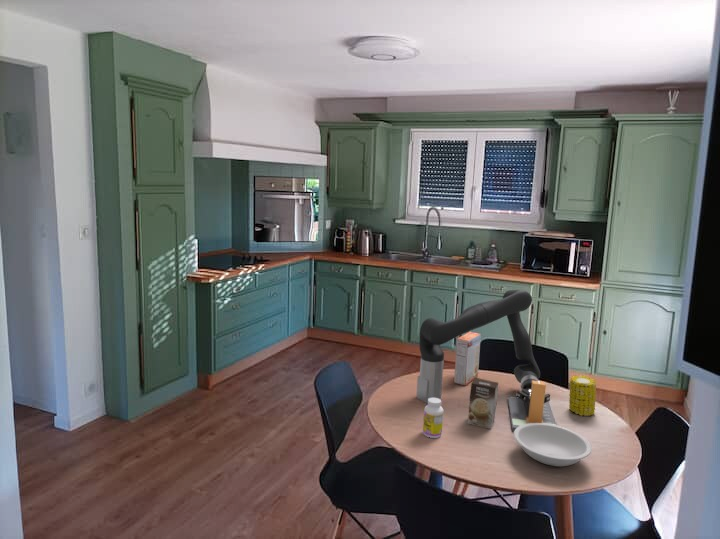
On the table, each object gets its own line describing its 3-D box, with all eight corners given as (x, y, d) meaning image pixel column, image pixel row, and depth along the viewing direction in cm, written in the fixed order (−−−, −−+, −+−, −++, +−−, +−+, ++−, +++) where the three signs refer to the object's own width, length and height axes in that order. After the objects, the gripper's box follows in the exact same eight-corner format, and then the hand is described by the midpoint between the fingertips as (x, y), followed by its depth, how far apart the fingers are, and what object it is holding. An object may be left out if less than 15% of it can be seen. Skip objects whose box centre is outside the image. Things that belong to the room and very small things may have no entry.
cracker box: (466, 374, 243) (469, 330, 239) (478, 377, 239) (481, 333, 235) (452, 382, 231) (456, 337, 228) (465, 386, 228) (469, 340, 224)
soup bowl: (512, 470, 162) (514, 451, 161) (511, 435, 185) (513, 418, 184) (595, 485, 156) (597, 465, 155) (583, 447, 179) (585, 429, 178)
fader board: (558, 437, 185) (560, 428, 184) (512, 431, 188) (513, 422, 188) (548, 405, 212) (549, 396, 211) (507, 400, 215) (508, 392, 215)
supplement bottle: (419, 431, 185) (421, 397, 183) (435, 428, 188) (438, 395, 186) (428, 440, 179) (430, 405, 177) (445, 437, 182) (447, 402, 179)
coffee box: (466, 423, 193) (470, 382, 190) (470, 416, 198) (474, 377, 196) (491, 429, 189) (495, 387, 186) (495, 422, 195) (498, 381, 192)
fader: (543, 427, 188) (547, 385, 185) (527, 425, 189) (531, 383, 186) (541, 421, 192) (546, 380, 190) (526, 419, 193) (530, 379, 191)
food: (598, 418, 205) (577, 422, 202) (578, 400, 215) (558, 403, 212) (608, 386, 199) (586, 390, 196) (587, 369, 209) (566, 372, 206)
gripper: (514, 376, 209) (517, 393, 192) (549, 380, 206) (555, 397, 189) (512, 393, 210) (516, 412, 193) (547, 398, 207) (553, 417, 190)
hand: (535, 405), depth 191 cm, fingers closed
